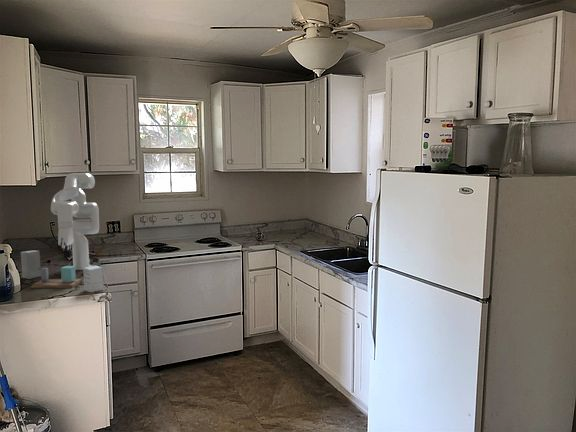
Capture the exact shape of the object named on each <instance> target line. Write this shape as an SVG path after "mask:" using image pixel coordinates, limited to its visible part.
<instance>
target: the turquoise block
mask: <svg viewBox="0 0 576 432" xmlns="http://www.w3.org/2000/svg"><path fill="white" fill-rule="evenodd" d="M60 275H61V278H60V279H61V280H62V282H66V281H73V280H75V279H77V275H76V270H75V266H73V265H64V266H63V267H61V268H60Z"/></svg>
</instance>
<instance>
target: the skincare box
mask: <svg viewBox="0 0 576 432" xmlns="http://www.w3.org/2000/svg"><path fill="white" fill-rule="evenodd" d="M20 261H21V275H22V276H21V277H22V279H28V280H31V279H34V278H39V277H41V269H42V267H41V255H40V250H35V249H34V250H26V251H21V252H20Z"/></svg>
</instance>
